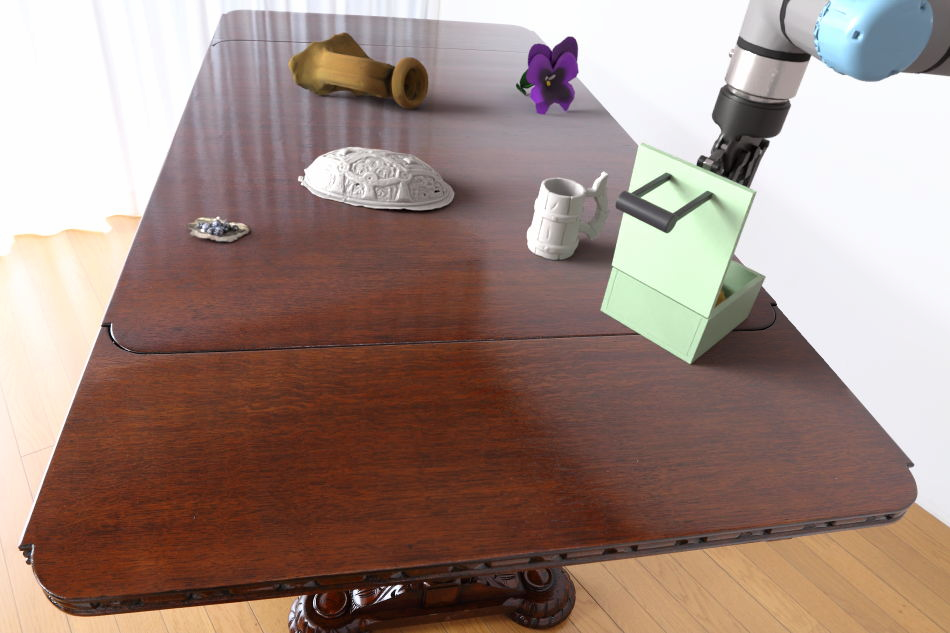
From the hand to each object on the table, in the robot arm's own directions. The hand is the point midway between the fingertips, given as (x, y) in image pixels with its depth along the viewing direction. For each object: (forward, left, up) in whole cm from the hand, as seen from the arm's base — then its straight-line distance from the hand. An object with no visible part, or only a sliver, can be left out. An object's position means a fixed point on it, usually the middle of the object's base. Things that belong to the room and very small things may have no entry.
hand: (690, 272), depth 87 cm
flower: (+63, -46, -7) cm, 78 cm away
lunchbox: (0, 0, -7) cm, 7 cm away
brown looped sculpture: (+83, -12, -7) cm, 84 cm away
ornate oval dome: (+50, +10, -7) cm, 51 cm away
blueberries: (+51, +37, -7) cm, 63 cm away
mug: (+20, -1, -7) cm, 21 cm away
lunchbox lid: (0, +8, +9) cm, 12 cm away
